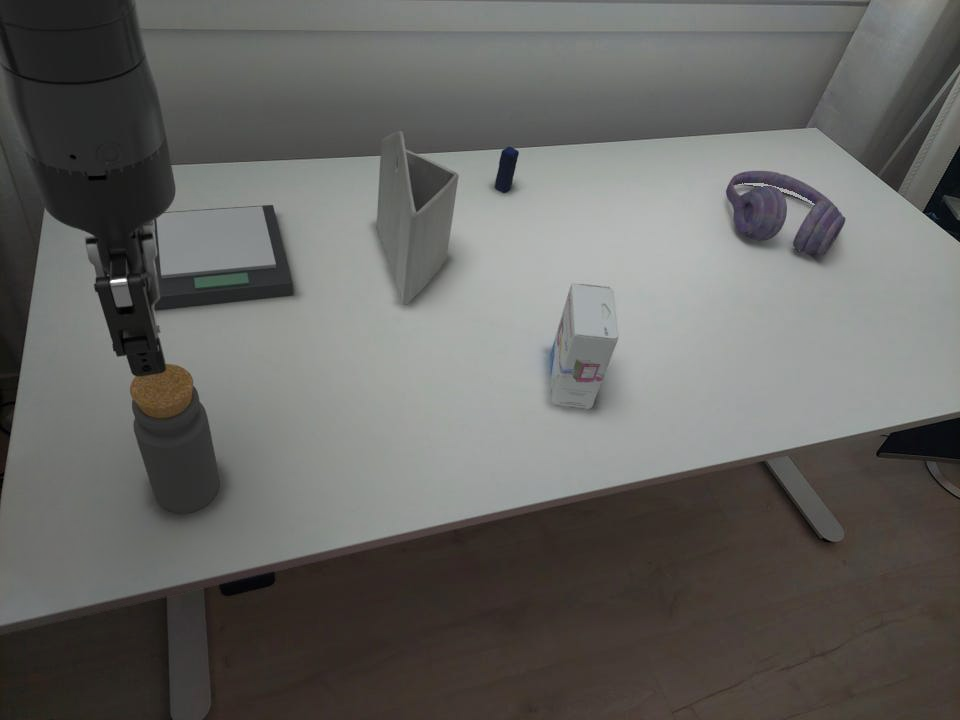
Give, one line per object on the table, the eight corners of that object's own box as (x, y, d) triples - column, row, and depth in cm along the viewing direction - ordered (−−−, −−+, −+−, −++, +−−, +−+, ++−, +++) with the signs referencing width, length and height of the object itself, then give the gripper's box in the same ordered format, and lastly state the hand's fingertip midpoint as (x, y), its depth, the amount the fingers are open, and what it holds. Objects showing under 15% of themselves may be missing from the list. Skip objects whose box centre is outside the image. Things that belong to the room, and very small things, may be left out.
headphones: (839, 272, 109) (818, 218, 125) (867, 224, 104) (841, 174, 120) (721, 239, 110) (715, 190, 126) (743, 190, 105) (734, 145, 121)
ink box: (547, 352, 88) (571, 279, 80) (587, 357, 89) (614, 285, 80) (549, 405, 82) (575, 332, 74) (592, 410, 83) (622, 339, 74)
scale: (152, 311, 83) (148, 293, 81) (146, 227, 93) (142, 209, 91) (293, 296, 88) (292, 278, 86) (273, 217, 98) (272, 200, 96)
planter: (462, 299, 92) (486, 169, 78) (402, 306, 90) (416, 172, 76) (430, 223, 102) (446, 95, 89) (375, 226, 100) (383, 96, 86)
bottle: (188, 452, 71) (163, 347, 60) (233, 482, 69) (216, 380, 59) (140, 493, 67) (104, 389, 56) (186, 525, 66) (159, 425, 55)
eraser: (492, 188, 111) (500, 149, 106) (501, 183, 112) (509, 144, 107) (503, 195, 110) (512, 156, 105) (512, 189, 112) (520, 150, 107)
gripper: (27, 72, 44) (91, 272, 56) (10, 208, 36) (90, 411, 47) (157, 70, 47) (193, 262, 59) (172, 197, 38) (210, 393, 50)
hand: (147, 329), depth 53 cm, fingers open, 8 cm apart
